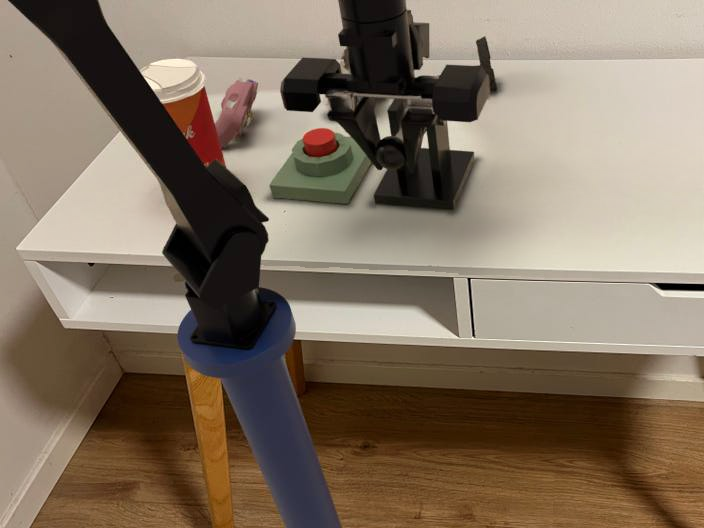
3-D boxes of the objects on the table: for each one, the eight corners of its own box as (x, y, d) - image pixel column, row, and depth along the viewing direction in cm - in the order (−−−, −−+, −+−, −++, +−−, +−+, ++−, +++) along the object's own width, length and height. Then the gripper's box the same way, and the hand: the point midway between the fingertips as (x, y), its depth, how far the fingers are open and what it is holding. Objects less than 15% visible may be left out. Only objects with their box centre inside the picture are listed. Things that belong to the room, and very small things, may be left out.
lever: (403, 176, 76) (400, 145, 74) (372, 174, 77) (368, 143, 75) (437, 127, 85) (435, 98, 83) (408, 125, 86) (406, 96, 84)
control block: (347, 204, 87) (341, 177, 84) (272, 197, 89) (264, 170, 86) (378, 151, 94) (373, 124, 92) (308, 145, 96) (302, 119, 93)
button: (331, 159, 88) (328, 145, 86) (301, 157, 88) (297, 143, 87) (342, 142, 90) (339, 128, 89) (312, 140, 91) (309, 126, 89)
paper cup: (158, 199, 90) (109, 83, 80) (203, 165, 94) (162, 51, 84) (210, 215, 87) (166, 97, 77) (254, 179, 91) (218, 63, 81)
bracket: (453, 210, 85) (445, 128, 78) (374, 203, 87) (359, 123, 80) (474, 160, 92) (469, 80, 84) (401, 155, 93) (389, 76, 86)
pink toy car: (238, 161, 97) (250, 113, 93) (201, 147, 96) (211, 99, 91) (256, 120, 104) (267, 74, 99) (221, 107, 103) (231, 60, 98)
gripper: (499, -22, 71) (504, 135, 82) (308, -27, 75) (338, 123, 86) (470, 29, 64) (480, 193, 75) (259, 20, 67) (298, 178, 78)
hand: (397, 169), depth 79 cm, fingers closed on lever, 3 cm apart
